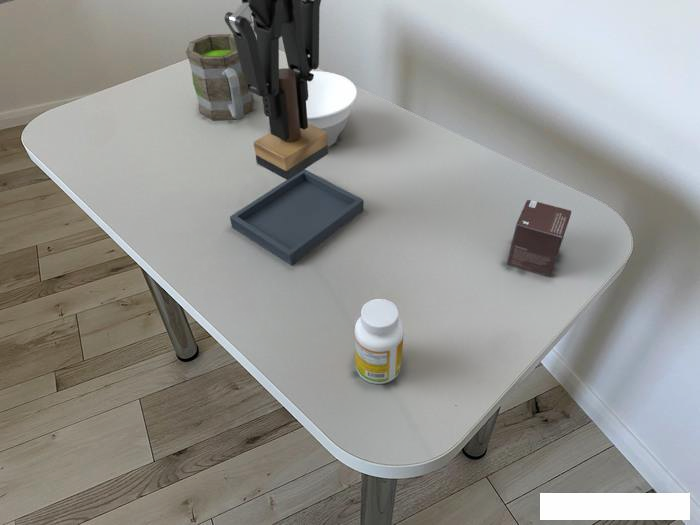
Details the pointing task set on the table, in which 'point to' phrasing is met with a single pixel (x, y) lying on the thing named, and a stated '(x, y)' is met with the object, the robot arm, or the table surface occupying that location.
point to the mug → (219, 78)
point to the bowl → (329, 102)
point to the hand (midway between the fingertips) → (289, 130)
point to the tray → (297, 215)
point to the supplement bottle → (378, 342)
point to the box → (538, 237)
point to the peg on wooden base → (291, 137)
